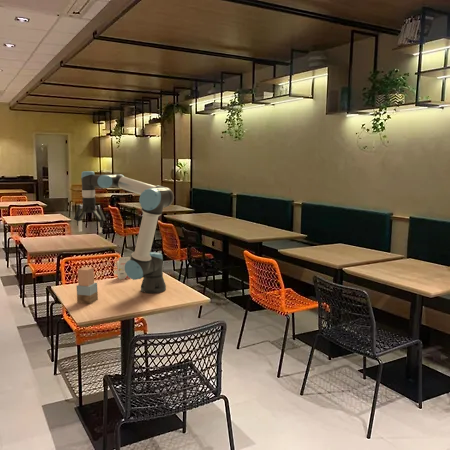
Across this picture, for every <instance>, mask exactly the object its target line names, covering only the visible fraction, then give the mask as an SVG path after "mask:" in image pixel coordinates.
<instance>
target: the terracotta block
mask: <svg viewBox="0 0 450 450" xmlns="http://www.w3.org/2000/svg"><path fill="white" fill-rule="evenodd" d="M77 278H78V279H77V281H78V282H77V283H78V284H77V285H79V286H90V285H92V284H94V283H95V271H94V267H92V266H91V267H89V266H88V267H87V266H82V267H81V268H78V269H77Z"/></svg>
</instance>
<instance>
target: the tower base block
mask: <svg viewBox="0 0 450 450" xmlns="http://www.w3.org/2000/svg"><path fill="white" fill-rule="evenodd" d="M98 297H99V295H98V291H97V292H96V293H94V294H92V295H90V296H88V295H77V294H76V300H77V301H76V303H77V304H81V305H82V304H83V305H92V304H93V303H95V302H97V301H98V300H99V298H98Z"/></svg>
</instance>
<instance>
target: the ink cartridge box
mask: <svg viewBox="0 0 450 450" xmlns="http://www.w3.org/2000/svg"><path fill="white" fill-rule="evenodd" d="M130 258H131V256H123V257H122V256H121V257H118V260H116V268H117V271H116V272H117V278H118V280H124V279H125V278H127V279H130V278H129V277H128V276H127V273H126V272H125V264H126V262H127V261H129V260H130Z"/></svg>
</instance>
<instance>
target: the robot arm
mask: <svg viewBox="0 0 450 450" xmlns="http://www.w3.org/2000/svg"><path fill="white" fill-rule="evenodd" d="M80 179H81V196H82V204H78V205H77V209H76V210H77V211H76V213H75V216H74V218H73V220H75V221H76V224H77V225H76V226H77V227H78V233H81V232H83V220H82V218H83V217H84V216H85V214H87V213H89V214H93V215H94V217H95V218H96V219H97V221H98V222H97V226H98V227H97V228H98V234H101V233H103V227H104V222H105V221H106V220H107V218H106V217H105V215H104V213H103V210H102V208H101V205H100V204H99V205H96V188H101V189H106V188H118V189H122V190H123V191H127V192H131V193H134V194H137V195H139V200H138V201H139V204H140V207H141V211H142V218H141V221H140V227H139V231H138V235H137V241H136V244H135V248H134V251H133V252H131V254H130V257H131V258H130V260H129V261H127V262H126V264H125V272H126V273H127V276H128V277H129V278H128V279H132V281H133V280H134V281H135V280H141V279H142V280H141V281H142V282H141V285H140V292H142V293H146V294H159V293H163V292H165V291H166V290H167V285H166V282H165V279H164V275H163V274H164V271H163V270H164V264H163V263H164V262H163V261H164V258H163V254H162V253H161V252H155V251H151V250H152V246H153V242H154V238H155V234H156V229H157V224H158V220H159V218H160V216H162V215H163V212H164V211H163V210H164V208H168V207H170V206H171V205H172V204H173V202H174V201H175V200H174V199H175V196H174V192H173V191H172V190H171V188H170V187H166V186H163V185H153V184H150V183H146V182H143V181H140V180H136V179H133V178H130V177H127V176H125V175H123V174H121V173H115V174H113V173H110V174H95V171H93V170H87V171H81V177H80Z"/></svg>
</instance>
